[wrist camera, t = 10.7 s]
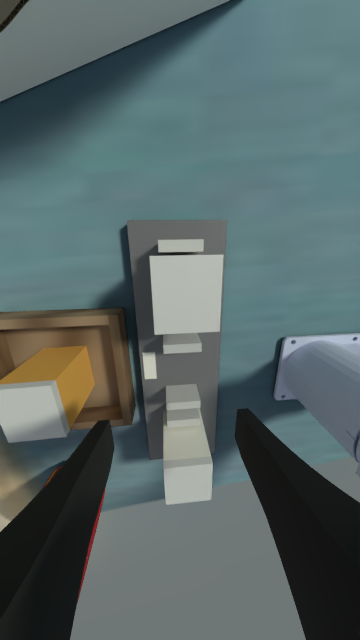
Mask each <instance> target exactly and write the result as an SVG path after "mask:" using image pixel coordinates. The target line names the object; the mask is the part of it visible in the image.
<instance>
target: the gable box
mask: <svg viewBox="0 0 360 640" xmlns="http://www.w3.org/2000/svg"><path fill="white" fill-rule="evenodd" d="M228 1H230V0H0V102H1V101H3V100H5V99H7V98H10V97H12V96H14V95H17V94H19V93H21V92H23V91H26V90H28V89H30V88H32V87H35V86H37V85H39V84H41V83H44V82H46V81H48V80H51V79H53V78H55V77H57V76H60V75H62V74H64V73H66V72H69V71H71V70H73V69H76V68H78V67H80V66H82V65H85V64H87V63H89V62H91V61H94V60H96V59H98V58H100V57H103V56H105V55H107V54H110V53H112V52H114V51H116V50H119V49H121V48H123V47H125V46H128V45H130V44H132V43H135V42H137V41H139V40H141V39H144V38H146V37H148V36H150V35H153V34H155V33H157V32H159V31H162V30H164V29H166V28H169V27H171V26H173V25H175V24H178V23H180V22H182V21H184V20H187V19H189V18H191V17H194V16H196V15H198V14H200V13H203V12H205V11H207V10H209V9H212V8H214V7H216V6H218V5H221V4H223V3H225V2H228Z"/></svg>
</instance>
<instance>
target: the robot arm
mask: <svg viewBox="0 0 360 640" xmlns="http://www.w3.org/2000/svg"><path fill="white" fill-rule="evenodd" d="M292 340H293V342H292V343H291V341H292ZM282 395H283V396H282ZM273 396H274V398H275V399H276V400H290V399H298V400H299V402H300V403H301V404H302V405H303V406H304V407H305V408H306V409H307V410H308V411H309V412H310V413H311V414H312V415H313V416H314V417H315V418H316V419H317V420H318V421H319V422H320V423H321V425H322V426H323V427H324V428H325V429H326V430H327V431H328V432H329V433H330V434H331V435H332V436H333V437H334V438H335V439H336V440H337V441H338V442H339V443H340V444H341V445H342V447H343V448H344V449H345V450H346V451H347V452H348V453H349V454H350V455H351V456H352V457H353V458H354V459H355V460H356V461H357V462H358V463H359V466H358V469H357V471H356V474H357V475H358V476H359V477H360V333H351V334H332V335H313V336H294V337H285V338H284V339H283V341H282V347H281V353H280V359H279V365H278V371H277V377H276V383H275V389H274V395H273ZM235 438H236V442H237V445H238V448H239V451H240V455H241V457H242V460H243V462H244V465H245V467H246V469H247V472H248V474H249V476H250V479H251V481H252V484H253V486H254V488H255V491H256V493H257V495H258V498H259V500H260V502H261V505H262V507H263V510H264V512H265V515H266V517H267V519H268V523H269V526H270V528H271V532H272V534H273V537H274V540H275V543H276V546H277V549H278V552H279V555H280V558H281V561H282V564H283V567H284V570H285V573H286V576H287V579H288V582H289V585H290V589H291V592H292V595H293V599H294V602H295V605H296V608H297V611H298V614H299V618H300V620H301V624H302V628H303V631H304V634H305V638H306V640H360V503H359V502H358V501H356V500H355V499H353V498H352V497H350V496H349V495H347V494H346V493H345V492H343V491H342V490H340V489H339V488H338V487H336V486H335V485H334V484H332V483H331V482H329V481H328V480H327V479H325V478H324V477H323V476H322V475H320V474H319V473H318V472H317V471H315V470H314V469H313V468H311V467H310V466H309V465H308V464H306V463H305V462H304V461H303V460H302V459H300V458H299V457H298V456H297V455H296V454H295V453H294V452H292V451H291V450H290V449H289V448H288V447H287V446H286V445H285V444H284V443H282V442H281V441H280V440H279V439H278V438H277V437H276V436H275V435H274V434H273V433H272V432H271V431H270V430H269V429H268V428H267V427H266V426H265V425H264V424H263V423H262V422H261V421H260V420H259V419H258V418H257V417H256V416H255V415H254V414H253V413H252V412H251V411H250V410H249V409H237V419H236V430H235ZM113 452H114V442H113V436H112V431H111V425H110V420H99V421H97V422H96V424H95V425H94V426H93V428H92V429H91V430H90V432H89V433H88V434H87V436H86V437H85V438H84V440H83V441H82V442H81V444H80V445H79V446H78V447H77V449H76V450H75V451H74V452H73V454H72V455H71V456H70V457H69V459H68V460H67V461H66V462H65V464H64V465H63V466H62V467H61V468H60V469H59V471H58V472H57V473H56V474H55V475H54V476H53V478H52V479H51V480H50V481H49V482H48V483H47V484H46V486H45V487H44V488H43V489H42V490H41V491H40V492H39V493H38V494H37V495H36V497H35V498H34V499H33V500H32V501H31V502H30V503H29V504H28V505H27V506H26V507H25V508H24V509H23V510H22V511H21V512H20V513H19V514H18V515H17V516H16V517H15V518H14V519H13V520H12V521H11V522H10V523H9V524H8V525H7V526H6V527H5V528H4V529H3V530H2V531H1V532H0V640H70V636H71V631H72V626H73V620H74V615H75V610H76V605H77V600H78V596H79V591H80V586H81V581H82V576H83V571H84V567H85V562H86V558H87V553H88V548H89V544H90V539H91V536H92V532H93V528H94V524H95V521H96V517H97V514H98V511H99V507H100V504H101V500H102V497H103V493H104V490H105V486H106V483H107V479H108V476H109V472H110V468H111V463H112V458H113Z"/></svg>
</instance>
